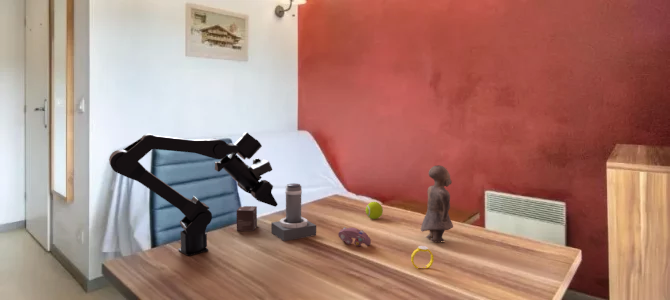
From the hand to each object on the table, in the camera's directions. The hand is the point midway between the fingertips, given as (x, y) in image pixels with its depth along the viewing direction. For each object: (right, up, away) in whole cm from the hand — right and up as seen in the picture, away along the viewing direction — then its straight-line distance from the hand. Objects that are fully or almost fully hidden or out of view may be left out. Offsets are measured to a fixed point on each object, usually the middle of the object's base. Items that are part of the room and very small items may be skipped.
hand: (271, 201), depth 131 cm
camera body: (+7, -12, +6) cm, 15 cm away
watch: (+45, -16, -21) cm, 52 cm away
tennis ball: (+36, -10, +26) cm, 46 cm away
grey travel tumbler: (+7, -8, +5) cm, 12 cm away
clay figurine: (+54, -13, +2) cm, 56 cm away
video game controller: (+27, -13, -3) cm, 30 cm away
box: (-10, -11, +11) cm, 19 cm away
